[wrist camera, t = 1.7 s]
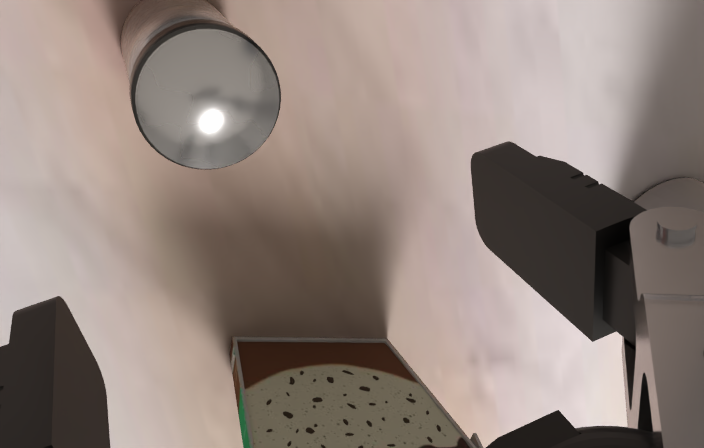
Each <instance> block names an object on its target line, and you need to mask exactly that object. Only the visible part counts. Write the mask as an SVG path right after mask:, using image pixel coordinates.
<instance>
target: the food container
mask: <svg viewBox="0 0 704 448" xmlns="http://www.w3.org/2000/svg"><path fill="white" fill-rule="evenodd" d="M230 360H231V367H232V374H233V380H234V387H235V394H236V400H237V407H238V414H239V420H240V427H241V434H242V440H243V447H244V448H483V446H482V444H481V442H480V440H479V438H478V436H477V434H476V433H473V435H472V437H471V439H469V438H468V437H467V435H466V434H465V433H464V432H463V431H462V429H461V428H460V427H459V426H458V424H457V423H456V422H455V421H454V420H453V418H452V417H451V416H450V415H449V413H448V412H447V411H446V410H445V409H444V407H443V406H442V405H441V404H440V403H439V401H438V400H437V399H436V398H435V396H434V395H433V394H432V393H431V392H430V390H429V389H428V388H427V387H426V385H425V384H424V383H423V382H422V381H421V379H420V378H419V377H418V376H417V374H416V373H415V372H414V371H413V370H412V368H411V367H410V366H409V365H408V363H407V362H406V361H405V360H404V359H403V357H402V356H401V355H400V354H399V352H398V351H397V350H396V349H395V348H394V346H393V345H392V344H391V343H390V341H389V340H388V339H380V338H298V337H232V340H231V348H230Z"/></svg>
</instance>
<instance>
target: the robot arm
mask: <svg viewBox="0 0 704 448" xmlns="http://www.w3.org/2000/svg"><path fill="white" fill-rule="evenodd" d="M471 174H472V186H473V197H474V209H475V220H476V225H477V229H478V232H479V234H480V236H481V238H482V240H483V242H484V243H485V245H486V246H487V247H488V248H489V249H490V250H491V251H492V252H493V253H494V254H495V255H496V256H497V257H499V258H500V259H501V260H502V261H503V262H504V263H505V264H506V265H507V266H509V267H510V268H511V269H512V270H513V271H514V272H515V273H516V274H518V275H519V276H520V277H521V278H522V279H523V280H524V281H525V282H526V283H528V284H529V285H530V286H531V287H532V288H533V289H534V290H535V291H537V292H538V293H539V294H540V295H541V296H542V297H543V298H544V299H545V300H547V301H548V302H549V303H550V304H551V305H552V306H553V307H554V308H556V309H557V310H558V311H559V312H560V313H561V314H562V315H563V316H564V317H566V318H567V319H568V320H569V321H570V322H571V323H572V324H573V325H575V326H576V327H577V328H578V329H579V330H580V331H581V332H582V333H583V334H585V335H586V336H587V337H588V338H589V339H590V340H591V341H592V342H593V341H595V340H598V339H600V338H602V337H604V336H607V335H609V334H611V333H614V332H616V331H617V332H618V333H619V334H620V335H622V336H623V339H622V361H623V374H624V386H625V399H626V411H627V424H628V428H627V427H618V426H593V427H581V428H574V427H573V426H572V425H571V423H570V422H569V421H568V420H567V419H566V418H565V417H564V416H563V415H562V414H561V412H560V411H559V410H557V411H555V412H553V413H551V414H548V415H546V416H544V417H542V418H540V419H538V420H535V421H533V422H531V423H529V424H527V425H525V426H522V427H520V428H518V429H516V430H514V431H512V432H509V433H507V434H505V435H503V436H501V437H499V438H497V439H496V440H495V441H493V442H492V443H491V444H490V445H488V446H487V447H486V448H704V183H703V182H701V181H698V180H696V179H692V178H677V179H672V180H669V181H666V182H663V183H661V184H659V185H657V186H655V187H653V188H652V189H650V190H648V191H647V192H645V193H644V194H643V195H642V196H640V197H639V198H638V199H637V200H635V201H634V202H633V201H631V200H629V199H627V198H626V197H624V196H622V195H620V194H619V193H617V192H615V191H614V190H612V189H610V188H608V187H607V186H605V185H603V184H600V185H599V183H598V181H596V180H595V179H593V178H591V177H590V176H588V175H585V176H584V175H583V172H581V171H579V170H578V169H576V168H574V167H572V166H571V165H569V164H567V163H566V162H563V161H559V160H555V159H551V158H547V157H543V156H538V157H536V156H534V155H532V154H531V153H529V152H527V151H526V150H524V149H522V148H521V147H519V146H518V145H516V144H514V143H512V142H505V143H502V144H499V145H496V146H493V147H490V148H488V149H485V150H482V151H479V152H476V153H474V154H473V156H472V159H471ZM0 448H110V438H109V424H108V409H107V395H106V389H105V384H104V380H103V377H102V374H101V371H100V369H99V366H98V364H97V362H96V359H95V358H94V356H93V354H92V352H91V350H90V348H89V346H88V344H87V342H86V340H85V338H84V336H83V335H82V333H81V331H80V329H79V327H78V325H77V323H76V321H75V319H74V317H73V315H72V313H71V312H70V310H69V308H68V306H67V304H66V303H65V301H64V300H63V299H62V298H61V297H60V296H57V297H54V298H52V299H49V300H46V301H43V302H40V303H37V304H34V305H31V306H29V307H26V308H23V309H20V310H17V311H15V312H14V313H13V317H12V325H11V332H10V340H9V344H7V345H4V346H2V347H0Z"/></svg>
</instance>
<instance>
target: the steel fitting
mask: <svg viewBox="0 0 704 448" xmlns="http://www.w3.org/2000/svg"><path fill="white" fill-rule="evenodd" d="M121 50H122V55H123V59H124V63H125V67H126V71H127V75H128V79H129V83H130V99H131V105H132V109H133V113H134V117H135V120H136V123H137V125H138V127H139V130H140V132H141V133H142V135H143V136H144V138H145V139H146V141H147V142H148V143H149V144H150V145H151V147H153V148H154V149H155V150H156V151H157V152H158V153H159V154H161V155H162V156H164V157H165V158H166V159H168V160H170V161H172V162H174V163H176V164H179V165H182V166H185V167H189V168H194V169H217V168H223V167H227V166H230V165H233V164H235V163H238V162H240V161H242V160H244V159H245V158H247V157H248V156H250V155H251V154H253V153H254V152H255V151H256V150H257V149H258V148H260V146H261V145H262V144H263V143H264V142H265V141H266V139H267V138H268V137H269V135H270V134H271V132H272V130H273V128H274V126H275V124H276V121H277V118H278V114H279V110H280V102H281V91H280V84H279V80H278V76H277V73H276V71H275V68H274V66H273V64H272V62H271V61H270V59H269V58H268V56H267V55H266V54H265V52H264V51H263V50H262V49H261V48H260V47H259V46H258V45H257V44H256V43H255V42H254V41H253V40H252V39H251V38H250V37H248V36H247V35H246V34H245V33H243V32H242V31H240V30H239V29H237V28H235V27H234V26H233V25H232V24H231V23H230V22H229V21H228V20H227V19H226V18H225V17H224V16H223V15H222V14H221V13H220V12H219V11H218V10H217V9H216V8H215V7H213V6H212V5H211V4H210V3H209V2H208V1H206V0H141V1H140V2H139V3H138V4H137V5H136V6H135V7H134V8H133V9H132V10H131V11H130V13H129V15H128V16H127V18H126V20H125V23H124V25H123V29H122V33H121Z"/></svg>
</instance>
